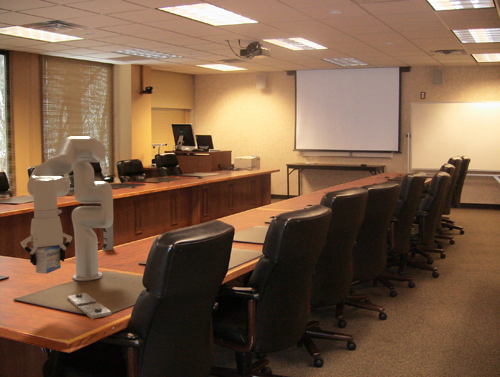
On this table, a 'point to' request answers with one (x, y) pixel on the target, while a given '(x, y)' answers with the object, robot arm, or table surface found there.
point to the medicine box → (47, 259)
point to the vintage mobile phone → (108, 238)
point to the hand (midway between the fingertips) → (48, 262)
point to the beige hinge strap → (89, 305)
